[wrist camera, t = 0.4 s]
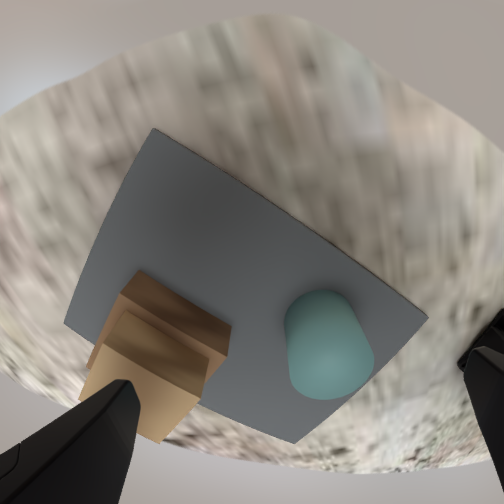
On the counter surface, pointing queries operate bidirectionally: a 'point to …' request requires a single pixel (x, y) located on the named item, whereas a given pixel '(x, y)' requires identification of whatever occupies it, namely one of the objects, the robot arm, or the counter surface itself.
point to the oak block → (150, 374)
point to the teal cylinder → (326, 346)
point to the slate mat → (232, 280)
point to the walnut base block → (169, 320)
